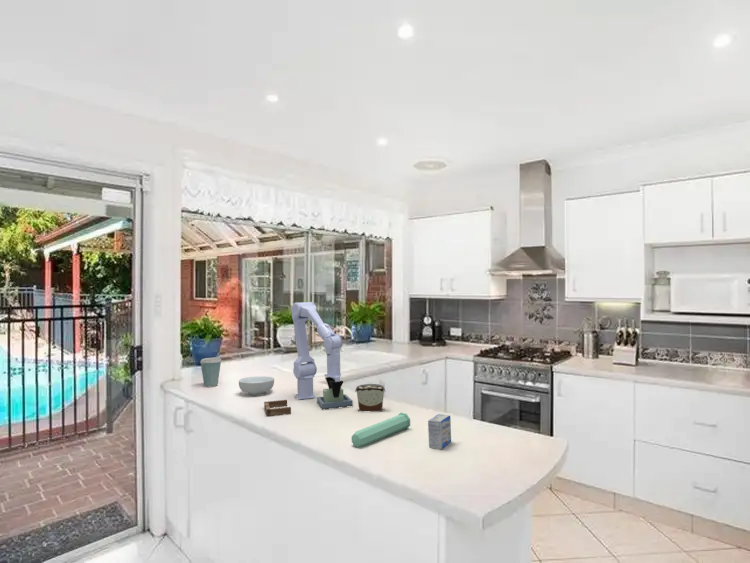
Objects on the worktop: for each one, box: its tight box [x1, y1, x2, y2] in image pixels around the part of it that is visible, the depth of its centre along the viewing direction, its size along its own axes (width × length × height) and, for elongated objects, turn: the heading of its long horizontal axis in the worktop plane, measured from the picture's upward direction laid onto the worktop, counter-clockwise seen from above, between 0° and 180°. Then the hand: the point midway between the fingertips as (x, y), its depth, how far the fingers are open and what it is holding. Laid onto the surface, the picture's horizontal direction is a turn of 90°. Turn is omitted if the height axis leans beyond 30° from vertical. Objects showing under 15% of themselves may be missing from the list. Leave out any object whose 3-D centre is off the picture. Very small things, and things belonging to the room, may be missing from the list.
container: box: [351, 412, 411, 448], centre depth 150 cm, size 6×6×25 cm
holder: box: [263, 399, 292, 417], centre depth 185 cm, size 14×10×2 cm
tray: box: [316, 393, 354, 410], centre depth 192 cm, size 12×13×2 cm
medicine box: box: [427, 413, 452, 450], centre depth 141 cm, size 8×4×9 cm, turn 148°
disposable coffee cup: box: [199, 356, 222, 388], centre depth 236 cm, size 11×11×15 cm
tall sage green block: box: [322, 387, 344, 403], centre depth 192 cm, size 4×8×6 cm, turn 108°
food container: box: [354, 383, 386, 413], centre depth 183 cm, size 12×6×10 cm, turn 84°
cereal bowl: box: [238, 375, 275, 396], centre depth 217 cm, size 17×17×7 cm
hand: (334, 395), depth 192 cm, fingers open, 7 cm apart
